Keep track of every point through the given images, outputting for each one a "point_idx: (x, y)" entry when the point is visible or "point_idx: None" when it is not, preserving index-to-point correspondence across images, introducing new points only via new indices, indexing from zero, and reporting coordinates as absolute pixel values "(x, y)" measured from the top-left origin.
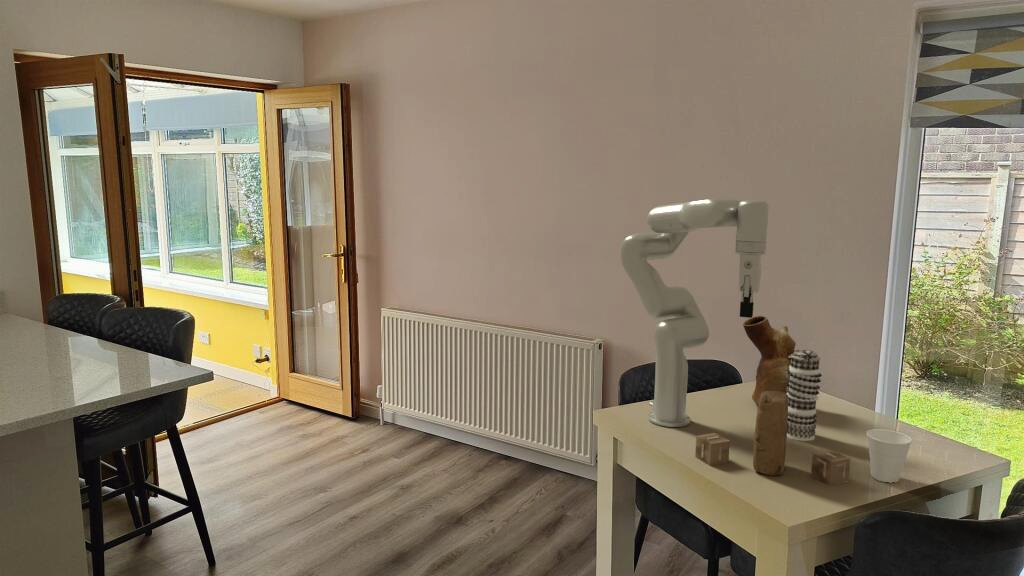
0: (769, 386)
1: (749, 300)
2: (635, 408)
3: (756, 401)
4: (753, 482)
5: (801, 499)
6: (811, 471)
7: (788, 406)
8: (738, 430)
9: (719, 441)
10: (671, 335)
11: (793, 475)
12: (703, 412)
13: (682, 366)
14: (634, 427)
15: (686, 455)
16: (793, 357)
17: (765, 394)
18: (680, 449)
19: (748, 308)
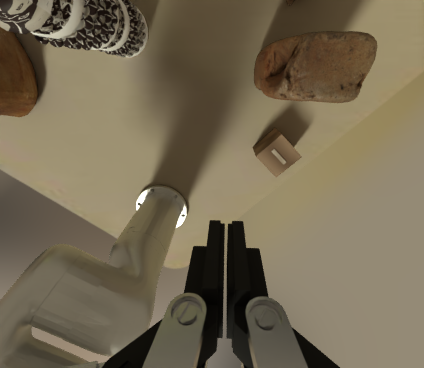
0: (7, 89)
1: (301, 337)
2: None
3: (31, 108)
4: None
5: (381, 19)
6: (291, 3)
7: (114, 46)
8: (152, 124)
9: (289, 147)
10: (148, 316)
11: (296, 34)
12: (108, 174)
13: (149, 247)
14: (204, 235)
15: (269, 176)
16: (44, 19)
17: (330, 90)
18: (252, 184)
19: (263, 277)
